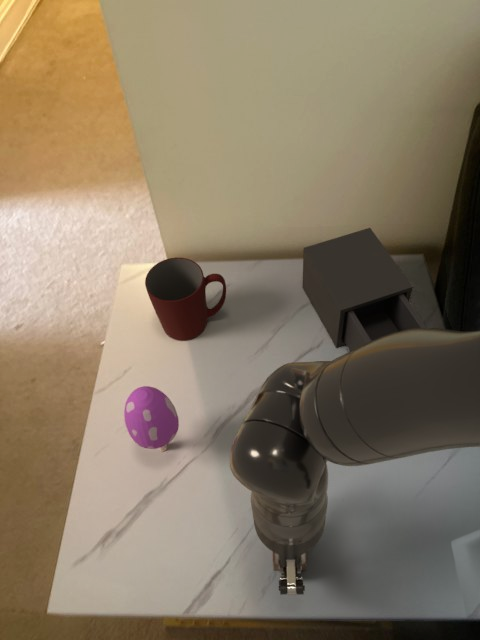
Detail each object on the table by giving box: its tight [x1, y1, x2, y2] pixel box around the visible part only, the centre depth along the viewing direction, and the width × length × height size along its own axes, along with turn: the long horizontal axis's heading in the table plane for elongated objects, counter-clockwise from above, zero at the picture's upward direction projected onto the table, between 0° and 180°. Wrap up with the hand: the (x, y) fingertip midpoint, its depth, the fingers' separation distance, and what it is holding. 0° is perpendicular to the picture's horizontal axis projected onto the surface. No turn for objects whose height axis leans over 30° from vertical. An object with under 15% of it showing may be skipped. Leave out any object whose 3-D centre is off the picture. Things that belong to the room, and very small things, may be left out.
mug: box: [144, 257, 227, 342], centre depth 89 cm, size 12×9×11 cm
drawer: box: [342, 293, 428, 352], centre depth 82 cm, size 17×10×8 cm, turn 19°
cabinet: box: [301, 227, 414, 349], centre depth 89 cm, size 14×12×10 cm
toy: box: [123, 385, 180, 452], centre depth 74 cm, size 7×7×15 cm
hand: (289, 552), depth 70 cm, fingers closed on block, 4 cm apart
